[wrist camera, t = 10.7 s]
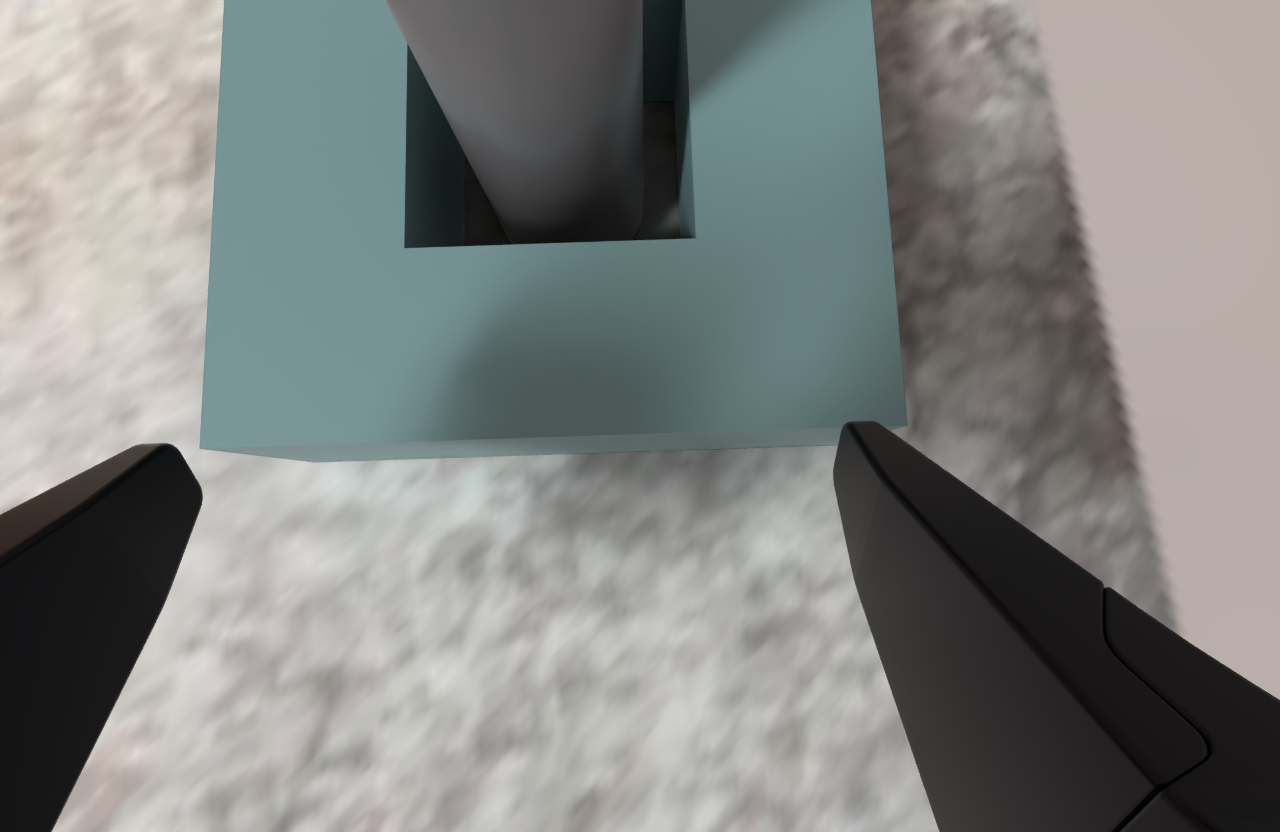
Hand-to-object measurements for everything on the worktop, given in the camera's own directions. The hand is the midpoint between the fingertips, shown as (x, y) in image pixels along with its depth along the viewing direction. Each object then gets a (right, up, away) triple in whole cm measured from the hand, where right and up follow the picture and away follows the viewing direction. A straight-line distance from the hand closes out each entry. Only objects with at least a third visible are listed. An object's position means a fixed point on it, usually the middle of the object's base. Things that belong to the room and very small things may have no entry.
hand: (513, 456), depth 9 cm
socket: (0, +6, +9) cm, 11 cm away
